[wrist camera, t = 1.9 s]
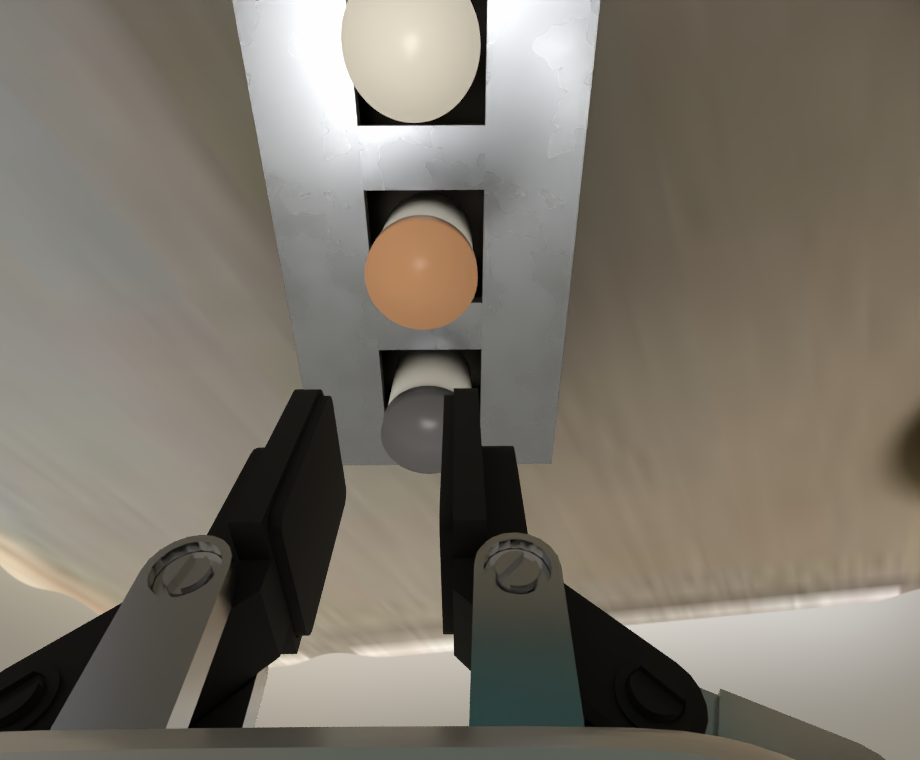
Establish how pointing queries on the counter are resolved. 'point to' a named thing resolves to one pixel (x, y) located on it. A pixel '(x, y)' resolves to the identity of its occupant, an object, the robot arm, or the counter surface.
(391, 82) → the plug
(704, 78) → the counter surface
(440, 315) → the plug mid
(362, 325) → the housing
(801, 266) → the counter surface
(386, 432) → the plug
